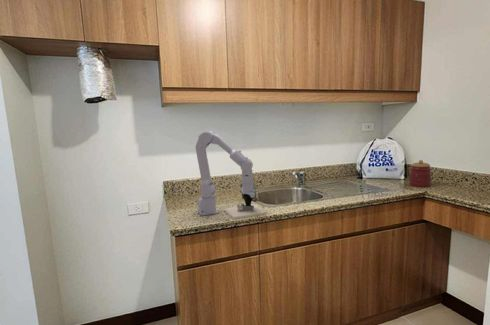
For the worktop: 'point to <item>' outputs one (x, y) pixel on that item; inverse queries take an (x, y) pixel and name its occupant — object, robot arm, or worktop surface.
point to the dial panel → (244, 212)
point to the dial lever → (245, 207)
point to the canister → (420, 174)
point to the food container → (253, 189)
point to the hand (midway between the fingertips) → (248, 207)
